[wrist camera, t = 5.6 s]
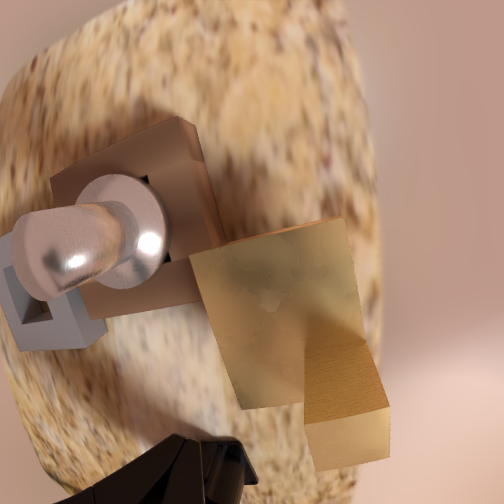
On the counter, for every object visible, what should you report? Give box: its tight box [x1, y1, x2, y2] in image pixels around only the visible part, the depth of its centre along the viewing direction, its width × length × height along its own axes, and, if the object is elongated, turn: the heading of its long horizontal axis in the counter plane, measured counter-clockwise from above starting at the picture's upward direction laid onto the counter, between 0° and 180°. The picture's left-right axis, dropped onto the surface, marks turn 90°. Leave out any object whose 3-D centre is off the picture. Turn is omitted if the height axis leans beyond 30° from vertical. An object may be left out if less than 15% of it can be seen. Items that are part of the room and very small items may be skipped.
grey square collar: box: [0, 230, 108, 351], centre depth 20 cm, size 10×10×3 cm
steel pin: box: [10, 174, 171, 301], centre depth 15 cm, size 6×6×10 cm
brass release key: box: [189, 215, 390, 472], centre depth 12 cm, size 9×7×6 cm
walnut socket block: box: [50, 116, 227, 320], centre depth 18 cm, size 10×10×3 cm
